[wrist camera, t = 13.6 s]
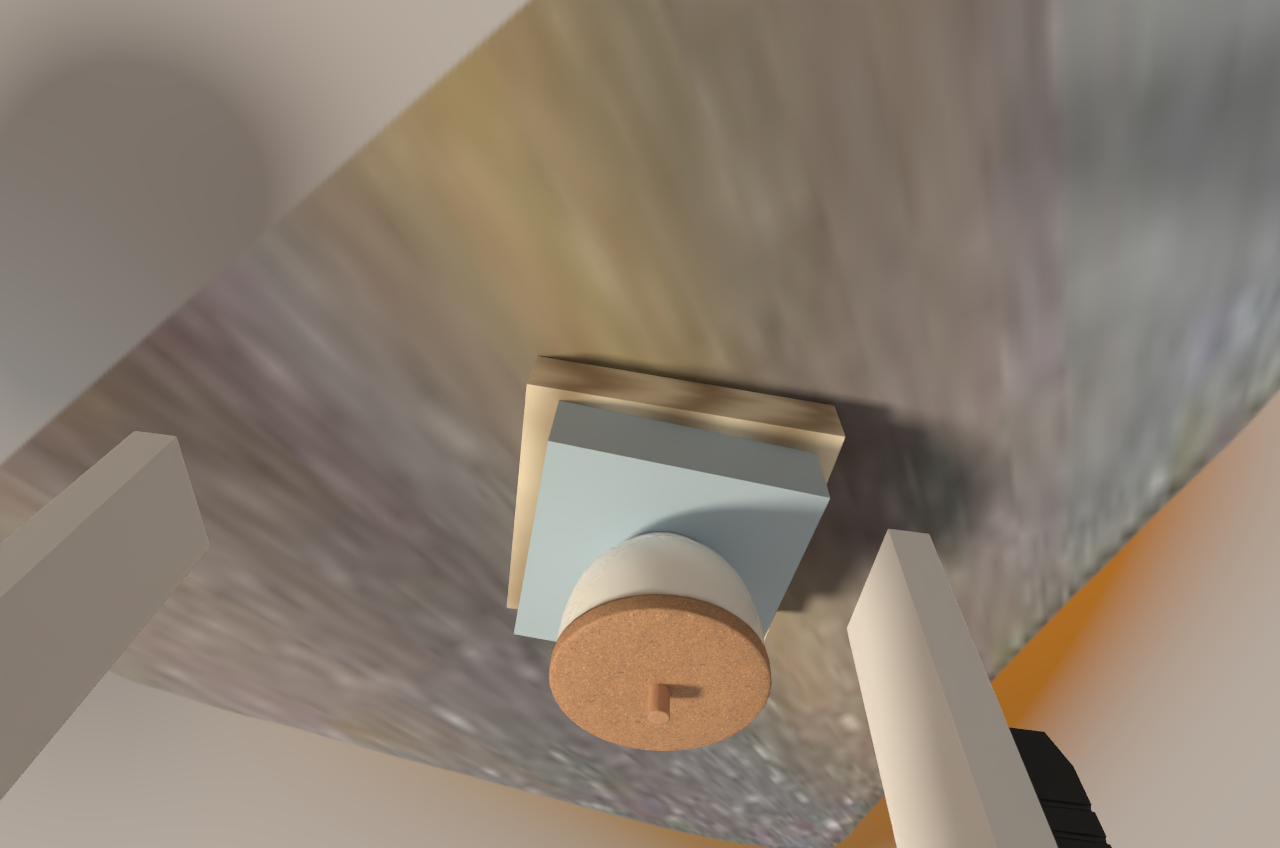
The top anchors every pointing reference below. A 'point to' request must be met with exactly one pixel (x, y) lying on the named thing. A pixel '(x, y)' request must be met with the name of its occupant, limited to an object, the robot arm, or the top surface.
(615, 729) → the lidded jar
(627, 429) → the tower top
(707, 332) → the top surface
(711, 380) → the top surface
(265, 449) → the top surface
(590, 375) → the tower base
